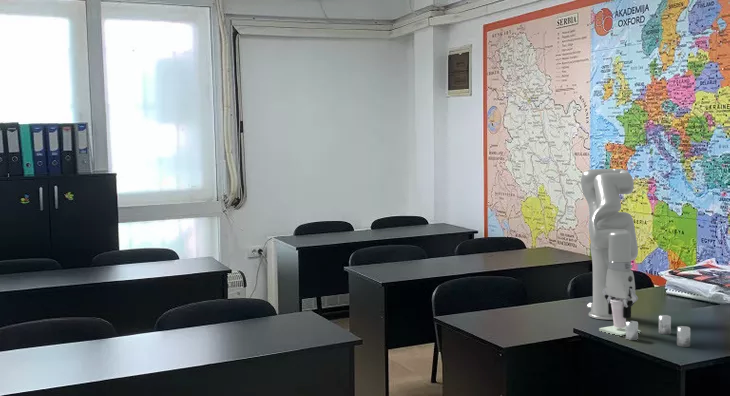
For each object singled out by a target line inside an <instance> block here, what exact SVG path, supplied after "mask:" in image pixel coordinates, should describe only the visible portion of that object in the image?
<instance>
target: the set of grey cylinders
mask: <svg viewBox="0 0 730 396" xmlns="http://www.w3.org/2000/svg"><path fill="white" fill-rule="evenodd" d="M625 326H626V336H625V340H626V339H629V340H637V339H638V340H639V334H638V330H639V322H638V321H635V320H626V323H625ZM658 334H661V335H671V334H672V316H671V315H668V314H659V315H658ZM629 340H628V341H629ZM638 340H637V341H638ZM676 345H677V346H678V347H681V348H689V347H691V327H690V326H685V325H679V326H676Z"/></svg>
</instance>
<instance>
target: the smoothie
mask: <svg viewBox="0 0 730 396" xmlns="http://www.w3.org/2000/svg"><path fill="white" fill-rule="evenodd" d="M610 303H611V307H612V314H613V320H612V321H613V326H614V327H616V328H625V326H626V321H627V318H624V317H623V307H625V305H624V302H623V299H620V298H615V299H611V300H610ZM627 303H628V300H627Z"/></svg>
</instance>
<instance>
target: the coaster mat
mask: <svg viewBox="0 0 730 396" xmlns="http://www.w3.org/2000/svg"><path fill="white" fill-rule="evenodd" d="M601 331H602V332H601ZM598 332H601V333H604V332H606V333H605V334H608V333H610V334H609V335H612V334H615V335H620V336H622V335H626V325H625V328H616V327H614V325H611V326H604V327H599V328H598ZM640 332H642V331H641V329H638V333H639V334H641V333H640ZM615 335H614V336H615Z"/></svg>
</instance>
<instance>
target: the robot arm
mask: <svg viewBox="0 0 730 396" xmlns="http://www.w3.org/2000/svg"><path fill="white" fill-rule="evenodd" d="M580 185H581V190H582V193H583V196H584V198H585V201H586V202H587V204H588V208H589V210H588V212H589V221H588V234H589V239H590V245H589V246H590V247H589V248H590V255H591V262H592V302H589V303H588V304H587V305H586V308H587V309H590V311H589V312H588V317H590V318H593V319H597V320H604V321H605V320H607V321H608V320H609V321H613V314H612V307H611V303H610V300H611V299H615V298H620V299H623V302H624V305H625V307H623V317H624V318H626V319H629V318H631V317H632V307H633V305H634V304H635V303H637V301H638V300H639V296H637V294H636V282H635V275H634V272H633V270H632V269H633V264H632V261H634V260H636V259H637V257H638V254H639V247H638V239H637V235H636V228H635V221H634V218H633V216H632V214H630V213H628V212H626V211H620V210H621V209H622V202H621V197H620V195H629V194H630V195H631V194H632V193H633V191H634V187H635V186H634V179H633V177H632V175H631V173H630V172H629V171H627V170H625V169H624V168H598V169H597V168H595V169H589V170H586V171H584V172H582V174H581V178H580ZM627 300H628V303H627Z"/></svg>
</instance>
